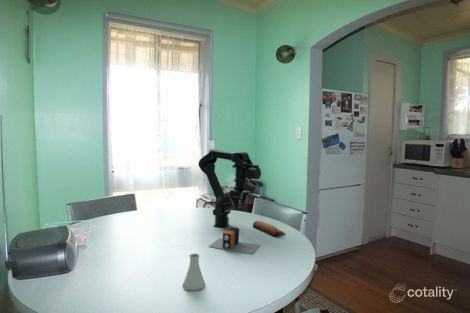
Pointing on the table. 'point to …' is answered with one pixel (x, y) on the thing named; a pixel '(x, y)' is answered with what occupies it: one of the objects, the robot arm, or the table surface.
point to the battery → (230, 238)
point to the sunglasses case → (268, 228)
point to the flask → (194, 275)
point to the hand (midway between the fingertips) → (240, 207)
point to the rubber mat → (237, 246)
